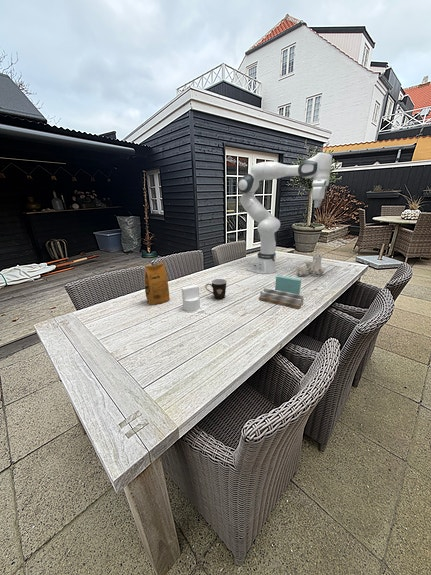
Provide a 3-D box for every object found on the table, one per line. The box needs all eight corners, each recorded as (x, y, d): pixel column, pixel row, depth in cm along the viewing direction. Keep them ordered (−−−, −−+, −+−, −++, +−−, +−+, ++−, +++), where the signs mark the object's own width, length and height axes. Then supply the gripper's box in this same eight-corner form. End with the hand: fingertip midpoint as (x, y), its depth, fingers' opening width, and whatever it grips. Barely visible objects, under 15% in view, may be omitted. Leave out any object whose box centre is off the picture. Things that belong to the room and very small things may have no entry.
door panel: (274, 292, 139) (276, 276, 135) (276, 290, 141) (277, 275, 137) (298, 296, 132) (300, 280, 128) (299, 294, 134) (301, 279, 130)
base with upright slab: (186, 313, 117) (185, 291, 112) (181, 306, 124) (179, 285, 120) (202, 308, 121) (201, 288, 116) (196, 302, 128) (194, 282, 123)
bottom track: (258, 300, 129) (259, 292, 127) (265, 293, 136) (265, 286, 135) (298, 309, 118) (299, 301, 116) (303, 301, 125) (304, 294, 124)
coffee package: (145, 300, 132) (139, 264, 124) (165, 295, 138) (161, 260, 130) (150, 306, 124) (144, 268, 116) (171, 301, 130) (167, 264, 122)
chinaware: (305, 268, 183) (305, 248, 178) (327, 270, 174) (328, 248, 168) (293, 279, 162) (293, 256, 157) (318, 281, 153) (319, 257, 147)
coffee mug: (228, 295, 135) (228, 280, 131) (223, 301, 128) (223, 285, 124) (211, 292, 140) (210, 277, 136) (205, 298, 133) (204, 282, 129)
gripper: (318, 183, 146) (314, 206, 152) (311, 182, 130) (308, 208, 136) (328, 183, 143) (325, 206, 149) (323, 182, 127) (319, 208, 133)
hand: (317, 207), depth 142 cm, fingers open, 8 cm apart
